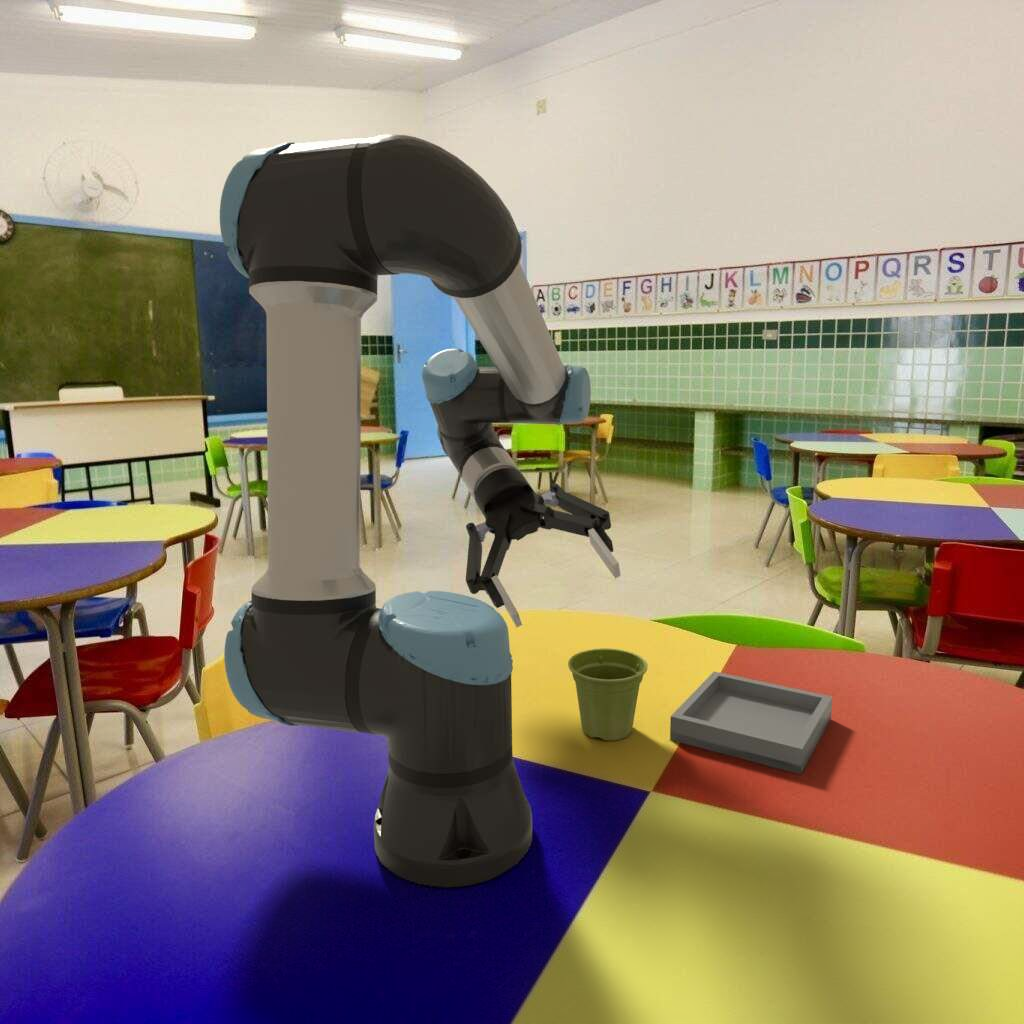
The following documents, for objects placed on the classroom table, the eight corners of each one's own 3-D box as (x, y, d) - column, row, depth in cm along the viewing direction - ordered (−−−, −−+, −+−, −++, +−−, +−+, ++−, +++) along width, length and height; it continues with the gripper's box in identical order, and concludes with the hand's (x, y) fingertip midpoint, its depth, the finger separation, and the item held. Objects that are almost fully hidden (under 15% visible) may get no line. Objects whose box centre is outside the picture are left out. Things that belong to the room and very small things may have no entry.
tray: (800, 774, 87) (802, 749, 87) (670, 739, 96) (670, 716, 95) (831, 719, 100) (832, 696, 99) (713, 692, 108) (713, 671, 107)
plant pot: (661, 739, 96) (662, 671, 94) (590, 755, 92) (590, 685, 90) (622, 706, 104) (623, 643, 102) (555, 720, 101) (555, 655, 99)
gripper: (581, 468, 116) (659, 568, 102) (423, 542, 113) (481, 657, 99) (574, 430, 110) (655, 531, 97) (408, 507, 107) (467, 624, 93)
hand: (567, 595), depth 98 cm, fingers open, 13 cm apart
